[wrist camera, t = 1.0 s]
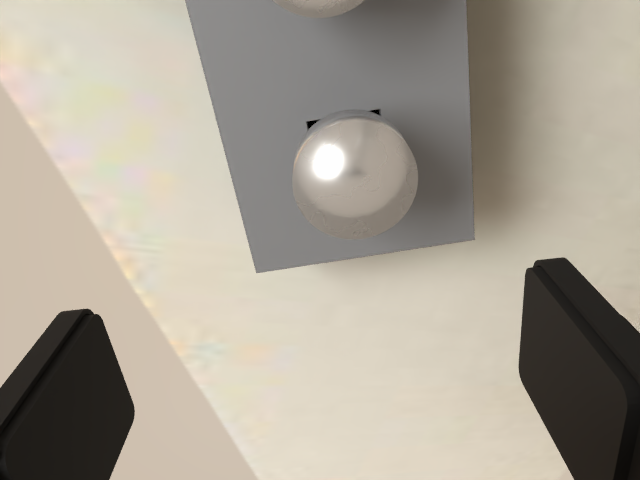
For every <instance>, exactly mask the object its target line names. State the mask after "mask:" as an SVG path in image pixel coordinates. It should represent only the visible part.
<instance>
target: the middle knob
mask: <svg viewBox="0 0 640 480" xmlns="http://www.w3.org/2000/svg"><path fill="white" fill-rule="evenodd" d="M273 1H274V2H275V3H276V4H278V5H280V6H281V7H283V8H284V9H286V10H288V11H290V12H292V13H295V14H298V15H301V16H305V17H311V18H326V17H333V16H337V15H340V14H343V13H345V12H348V11H350V10H352V9H353V8H355V7H357V6H358V5H360V4H361V3H362V2H363V1H365V0H273Z"/></svg>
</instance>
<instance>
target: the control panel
mask: <svg viewBox="0 0 640 480" xmlns="http://www.w3.org/2000/svg"><path fill="white" fill-rule="evenodd" d="M185 2H186V5H187V9H188V13H189V17H190V21H191V25H192V28H193V32H194V36H195V40H196V44H197V48H198V51H199V55H200V59H201V63H202V67H203V71H204V74H205V78H206V82H207V86H208V90H209V93H210V97H211V101H212V105H213V109H214V113H215V116H216V120H217V124H218V128H219V132H220V136H221V139H222V143H223V147H224V151H225V155H226V159H227V162H228V166H229V170H230V174H231V178H232V182H233V185H234V189H235V193H236V197H237V201H238V205H239V208H240V212H241V216H242V220H243V224H244V228H245V231H246V235H247V239H248V243H249V247H250V251H251V254H252V258H253V262H254V266H255V270H256V273H261V272H267V271H274V270H280V269H287V268H293V267H300V266H306V265H313V264H319V263H326V262H333V261H339V260H346V259H352V258H359V257H365V256H372V255H378V254H385V253H391V252H398V251H404V250H411V249H418V248H424V247H431V246H437V245H444V244H450V243H457V242H463V241H470V240H475V237H474V208H473V179H472V150H471V122H470V93H469V64H468V36H467V7H466V0H365V1H363V2H362V3H361V4H360V5H358V6H357V7H355V8H353V9H352V10H350V11H348V12H345V13H343V14H340V15H337V16H333V17H326V18H311V17H305V16H301V15H298V14H295V13H292V12H290V11H288V10H286V9H284V8H283V7H281V6H280V5H278V4H276V3H275V2H274V1H273V0H185ZM350 109H357V110H365V111H371V110H377V109H379V115H380V116H382V117H384V118H385V119H387V120H388V121H389V122H391V123H392V124H393V125H394V126H395V127H396V128H397V129H398V130H399V132H400V133H401V135H402V136H403V138H404V140H405V141H406V143H407V145H408V146H409V148H410V150H411V152H412V154H413V156H414V158H415V161H416V165H417V170H418V186H417V191H416V195H415V198H414V200H413V203H412V205H411V206H410V208H409V210H408V211H407V213H406V214H405V215H404V217H403V218H402V219H401V220H400V221H399V222H398V223H396V224H395V225H394V226H393V227H391V228H390V229H388V230H386V231H385V232H383V233H381V234H378V235H376V236H373V237H369V238H364V239H342V238H337V237H333V236H331V235H328V234H326V233H324V232H322V231H320V230H318V229H317V228H316V227H314V226H313V225H312V224H311V223H310V222H309V221H308V220H307V219H306V218H305V217H304V216H303V214H302V213H301V211H300V209H299V208H298V205H297V203H296V201H295V197H294V194H293V187H292V177H293V168H294V160H295V154H296V151H297V148H298V145H299V143H300V141H301V139H302V138H303V136H304V134H305V133H306V132H307V131H308V124H307V121H312V120H318V119H322V118H323V117H325V116H327V115H329V114H332V113H335V112H338V111H342V110H350Z"/></svg>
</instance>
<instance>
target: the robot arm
mask: <svg viewBox="0 0 640 480" xmlns="http://www.w3.org/2000/svg"><path fill="white" fill-rule="evenodd" d="M519 374H520V378H521V381H522V383H523V385H524V387H525V389H526V391H527V393H528V395H529V396H530V398H531V400H532V402H533V404H534V406H535V408H536V409H537V411H538V413H539V415H540V417H541V419H542V421H543V422H544V424H545V426H546V428H547V430H548V432H549V434H550V435H551V437H552V439H553V441H554V443H555V445H556V447H557V448H558V450H559V452H560V454H561V456H562V458H563V460H564V461H565V463H566V465H567V467H568V469H569V471H570V473H571V474H572V476H573V478H574V480H640V333H639V332H638V331H637V330H636V329H635V328H634V327H633V326H632V325H631V324H630V323H629V322H628V321H627V319H625V318H624V317H623V316H622V315H620V314H619V313H618V312H617V311H616V310H615V309H614V308H613V307H612V306H611V305H610V304H609V303H608V301H607V300H606V299H605V298H604V297H603V296H602V295H601V294H600V293H599V292H598V291H597V290H596V289H595V288H594V287H593V286H592V285H591V284H590V283H589V282H588V281H587V279H586V278H585V277H584V276H583V275H582V274H581V273H580V272H579V271H578V270H577V269H576V268H575V267H574V266H573V265H572V264H571V263H570V262H569V261H568V260H567V259H566V258H554V259H544V260H537V261H536V262H535V263H534V266H533V268H528V269H527V270H526V274H525V285H524V299H523V313H522V327H521V341H520V354H519ZM134 412H135V411H134V404H133V401H132V399H131V396H130V393H129V391H128V388H127V385H126V383H125V380H124V377H123V374H122V372H121V369H120V366H119V364H118V361H117V358H116V355H115V353H114V350H113V347H112V345H111V342H110V339H109V336H108V334H107V331H106V329H105V326H104V323H103V320H102V318H101V317H100V316H99V315H98V314H94V313H93V312H92V311H91V310H89V309H80V310H71V311H63V312H60V313H59V314H58V315H57V316H56V318H55V319H54V320H53V321H52V323H51V324H50V325H49V326H48V328H47V329H46V330H45V332H44V333H43V334H42V335H41V337H40V338H39V339H38V340H37V342H36V343H35V344H34V346H33V347H32V348H31V350H30V351H29V352H28V353H27V355H26V356H25V357H24V358H23V360H22V361H21V362H20V363H19V365H18V366H17V367H16V369H15V370H14V371H13V373H12V374H11V375H10V376H9V378H8V379H7V380H6V381H5V383H4V384H3V385H2V387H1V388H0V480H109V479H110V476H111V474H112V471H113V469H114V467H115V464H116V462H117V459H118V457H119V454H120V452H121V450H122V447H123V445H124V442H125V440H126V438H127V435H128V433H129V430H130V428H131V426H132V423H133V420H134Z"/></svg>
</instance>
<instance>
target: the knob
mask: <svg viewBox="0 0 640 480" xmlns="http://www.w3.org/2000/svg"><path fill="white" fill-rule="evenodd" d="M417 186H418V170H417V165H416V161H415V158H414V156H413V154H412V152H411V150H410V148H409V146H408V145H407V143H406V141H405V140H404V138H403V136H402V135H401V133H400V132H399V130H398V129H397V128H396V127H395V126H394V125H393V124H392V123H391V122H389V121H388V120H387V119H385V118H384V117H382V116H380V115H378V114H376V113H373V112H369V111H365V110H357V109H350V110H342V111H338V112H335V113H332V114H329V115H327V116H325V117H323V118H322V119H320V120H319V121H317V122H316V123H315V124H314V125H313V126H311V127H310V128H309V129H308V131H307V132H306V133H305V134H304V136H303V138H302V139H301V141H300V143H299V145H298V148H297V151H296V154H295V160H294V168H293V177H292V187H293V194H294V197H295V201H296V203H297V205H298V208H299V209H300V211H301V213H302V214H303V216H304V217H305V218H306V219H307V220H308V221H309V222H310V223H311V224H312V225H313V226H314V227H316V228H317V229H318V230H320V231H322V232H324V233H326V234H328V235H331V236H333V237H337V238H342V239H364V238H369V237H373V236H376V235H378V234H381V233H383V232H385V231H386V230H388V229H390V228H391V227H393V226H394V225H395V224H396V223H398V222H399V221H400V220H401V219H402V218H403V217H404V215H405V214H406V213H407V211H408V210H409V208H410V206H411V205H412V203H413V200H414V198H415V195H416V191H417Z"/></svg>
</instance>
